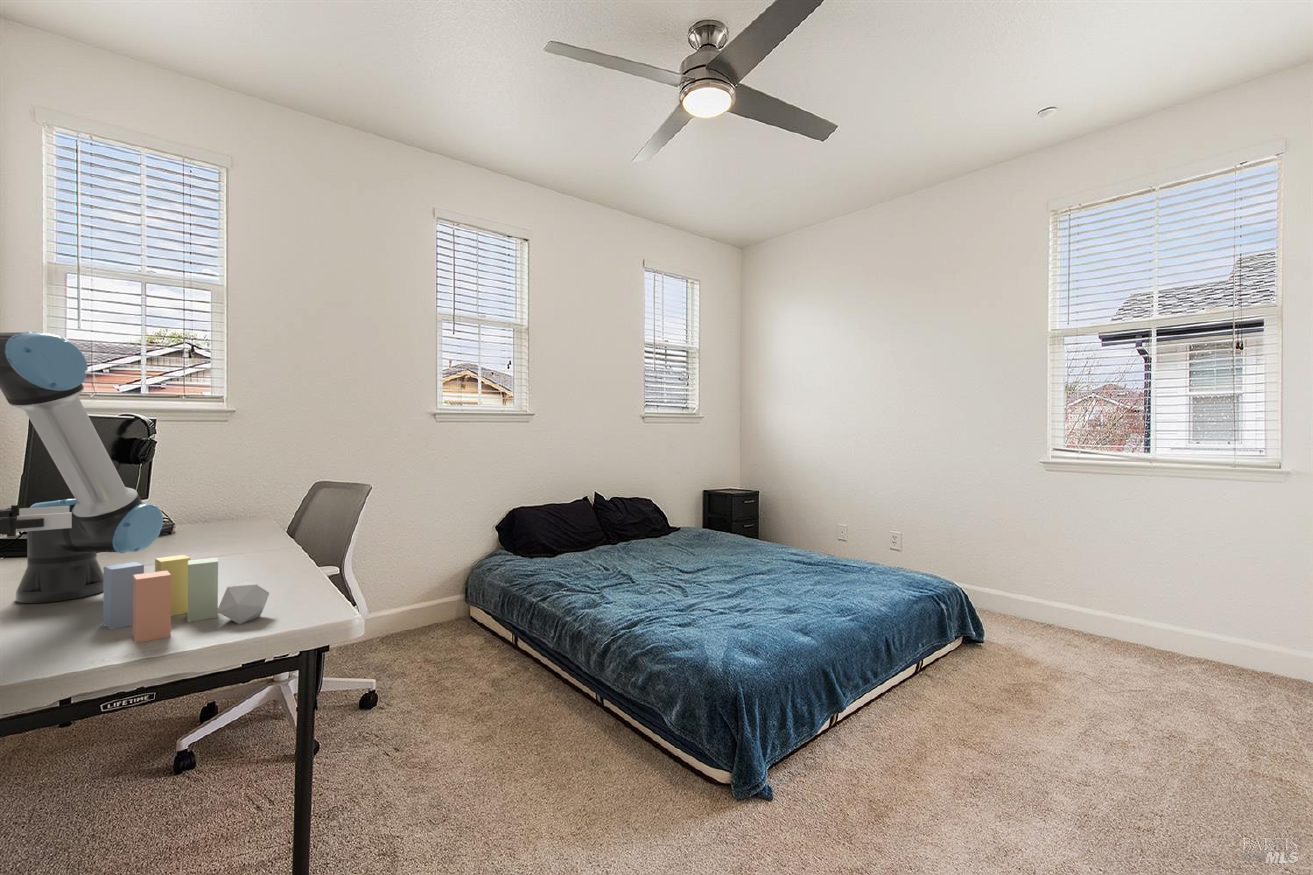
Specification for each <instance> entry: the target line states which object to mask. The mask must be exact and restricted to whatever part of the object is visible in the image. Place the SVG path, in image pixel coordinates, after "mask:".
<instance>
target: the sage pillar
mask: <svg viewBox="0 0 1313 875" xmlns="http://www.w3.org/2000/svg"><path fill="white" fill-rule="evenodd" d="M218 597H219V558H218V557H210V558H200V559H198V558H197V559H190V560H188V613H187V616H186V617H187V618H186V619H187V623H188V622H189V623H190V622H196V621H202V620H210V619H214V618H215V619H217V618H218V615H219V613H218V612H217V610H218V607H219V606H218V603H219V602H218V601H219V598H218Z"/></svg>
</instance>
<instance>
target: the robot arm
mask: <svg viewBox="0 0 1313 875" xmlns="http://www.w3.org/2000/svg"><path fill="white" fill-rule="evenodd" d="M88 369H89V367H88V362H87V360H86V356H85V355H84V354H83V352H82V351H81V349H80V348H79V347H78V346H77V345H75V343H73V342H72V341H70V340H69V339H67V338H64V337H61V336H59V335H55V334H52V333H42V332H37V331H22V332H21V331H20V332H0V391H1V392H2V394H3V396H4V398H5V400H6V401H7V403H8V404H9V405H10V406H11V407H15V408H18V409H22V410H23V411H24V412H25V413H26V415H27V417H28V419H29V421H30V422H31V424H32V425H33V428H34V429H35V431H36V434H38V437H39V438H40V440H41V441H42V443H43V445H44V447H45V449H46V450H47V452H48V454H49V456H50V457H51V459H52V461H53V462H54V464H55V466H56V468H57V470H58V471H59V473H60V474H61V476H62V478H63V480H64V482H65V483H66V485H67V487H68V488H69V491H70V492H71V494H72V495H73V497H74V498H67V499H60V500H59V499H58V500H53V501H44V502H43V501H41V502H35V503H34V504H32V505H30V507H25V508H24V507H23V508H20V504H13V505H12V504H11V505H10V507H8V508H1V509H0V535H2V536H4V535H6V537H7V538H13V537H16V536H17V533H20V532H22V533H23V532H26V544H27V548H26V549H27V550H26V551H27V556H26V557H27V566H26V569H25V572H24V573H23V576H22V578H21V579H20V582H19V585H18V586H17V589H16V592H15V601H16V602H17V603H21V604H39V603H40V604H43V603H54V602H60V601H61V602H62V601H68V600H73V599H79V598H84V597H88V596H93V595H96V594H99V593H102V592H104V570H102V567H101V565H100V564H99V561H98V553H120V554H124V553H134V552H135V553H137V552H141V551H143V550H145V549H147V548H148V547H150V546H151V545H152V544H154V542H155V541H156V540H157V538H158V537H159V536H160V534H161V530H162V529H163V525H164V517H163V512H162V511H161V509H160V508H159V507H158V506H157V505H155V504H151V503H149V502H146V503H145V502H143V501H142V499H141V497H140V495H139V493H138V491H137V490H136V489H134V488H131V487H128V486H127V487H126V486H125V484H124V482H123V481H122V477H120V474H119V473H118V470H117V468H116V467H115V465H114V463H113V461H112V459H111V457H110V455H109V453H108V451H107V449H106V447H105V446H104V444H103V442H102V440H101V438H100V436H99V434H98V432H97V430H96V429H95V426H94V424H93V422H92V420H91V418H90V416H89V415H88V413H87V410H86V409H85V407H84V405H83V402H82V401H81V399H80V396H81V394H82V393H83V392H84V389H85V387H84V385H83V383H84V381H85V380H86V379H87V378H86V377H87V376H88V374H87V373H86V371H88Z"/></svg>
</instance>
